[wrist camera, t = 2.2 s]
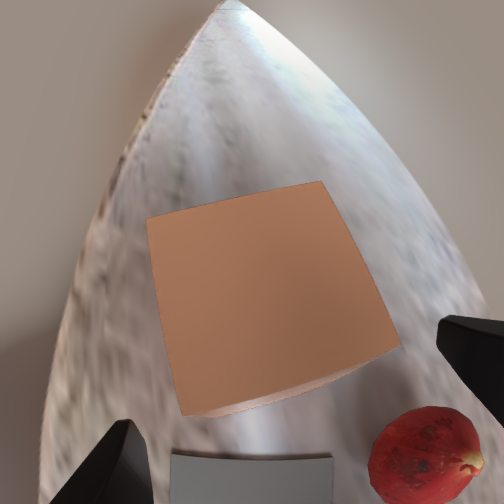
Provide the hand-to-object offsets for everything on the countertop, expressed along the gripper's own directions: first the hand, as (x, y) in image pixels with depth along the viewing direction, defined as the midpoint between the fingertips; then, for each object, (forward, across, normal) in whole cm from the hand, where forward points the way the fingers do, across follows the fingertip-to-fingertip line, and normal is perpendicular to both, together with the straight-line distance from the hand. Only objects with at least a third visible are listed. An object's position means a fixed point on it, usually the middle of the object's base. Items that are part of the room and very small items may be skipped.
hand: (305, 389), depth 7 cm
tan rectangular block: (+10, 0, +5) cm, 11 cm away
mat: (+2, +3, +12) cm, 13 cm away
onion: (+3, -6, +12) cm, 13 cm away
